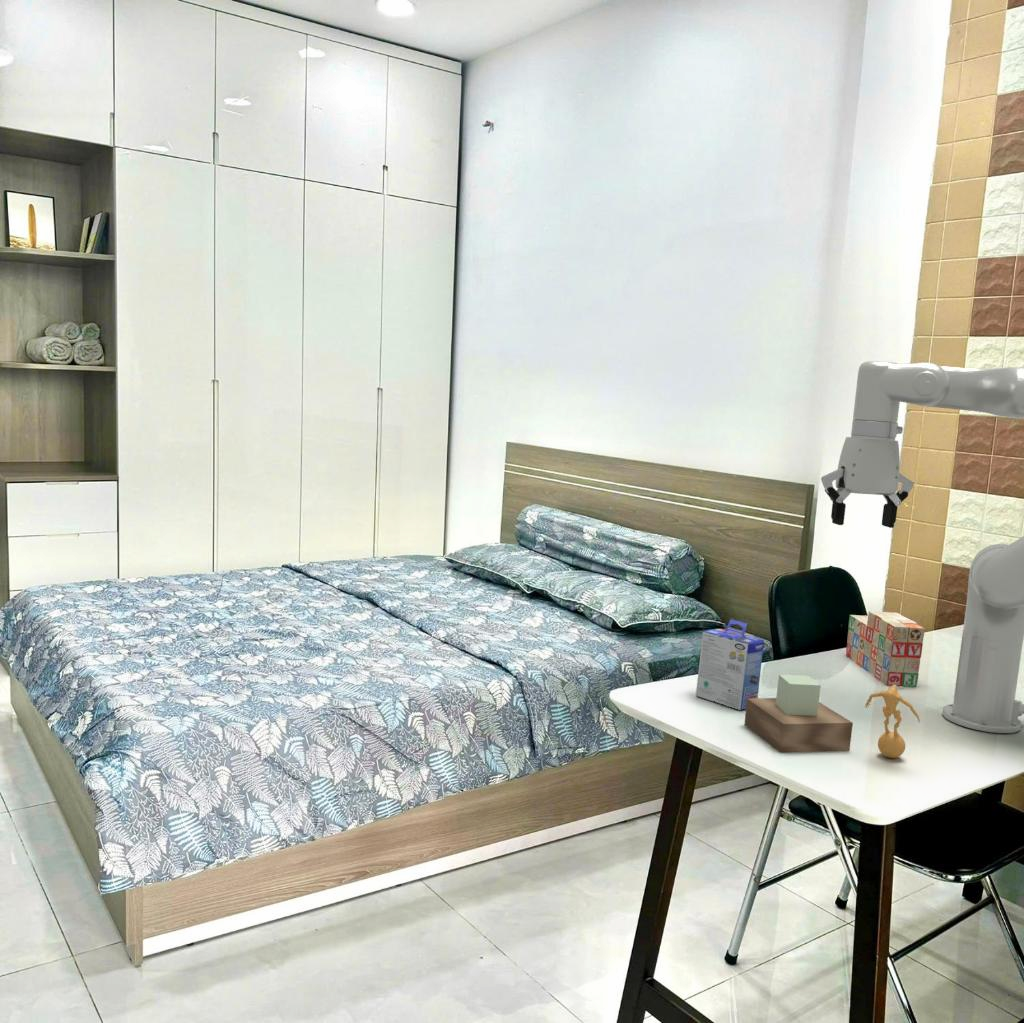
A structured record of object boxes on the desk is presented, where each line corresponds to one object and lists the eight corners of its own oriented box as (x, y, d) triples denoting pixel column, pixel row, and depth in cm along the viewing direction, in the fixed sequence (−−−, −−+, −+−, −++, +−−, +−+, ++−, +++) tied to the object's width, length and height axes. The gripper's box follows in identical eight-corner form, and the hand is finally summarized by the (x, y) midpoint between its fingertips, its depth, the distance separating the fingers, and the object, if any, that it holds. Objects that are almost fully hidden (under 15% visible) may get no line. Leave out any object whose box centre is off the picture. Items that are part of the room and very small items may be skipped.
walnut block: (808, 726, 164) (812, 697, 164) (849, 753, 153) (852, 722, 152) (744, 727, 161) (747, 698, 161) (780, 755, 150) (783, 724, 149)
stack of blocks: (844, 656, 211) (850, 600, 210) (872, 657, 211) (879, 602, 210) (886, 686, 190) (894, 625, 188) (917, 688, 190) (925, 627, 189)
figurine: (921, 762, 150) (931, 687, 148) (907, 772, 145) (917, 694, 144) (868, 746, 155) (877, 673, 154) (853, 755, 151) (862, 680, 149)
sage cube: (805, 705, 159) (808, 675, 158) (817, 715, 154) (820, 685, 154) (775, 704, 159) (778, 674, 158) (786, 714, 154) (789, 683, 153)
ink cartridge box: (759, 706, 172) (767, 626, 170) (741, 712, 168) (750, 630, 166) (712, 691, 179) (719, 614, 177) (694, 696, 175) (702, 618, 173)
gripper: (907, 432, 179) (896, 524, 181) (818, 427, 177) (808, 520, 179) (930, 435, 172) (918, 531, 174) (837, 429, 169) (827, 526, 172)
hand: (862, 525), depth 176 cm, fingers open, 9 cm apart
